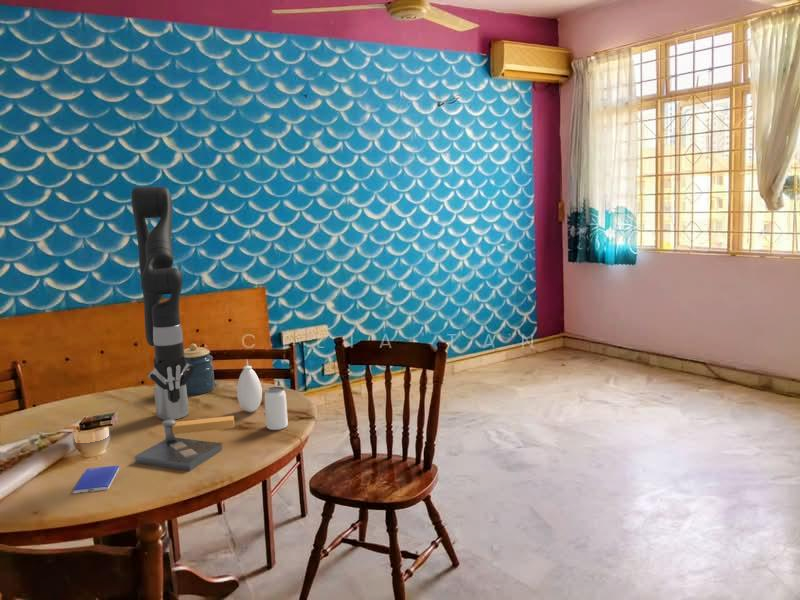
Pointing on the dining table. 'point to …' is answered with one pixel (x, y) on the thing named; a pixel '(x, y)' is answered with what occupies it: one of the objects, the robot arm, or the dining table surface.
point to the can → (276, 408)
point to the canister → (199, 370)
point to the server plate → (179, 453)
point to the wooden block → (196, 426)
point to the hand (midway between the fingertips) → (174, 401)
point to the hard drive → (96, 479)
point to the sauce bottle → (249, 389)
